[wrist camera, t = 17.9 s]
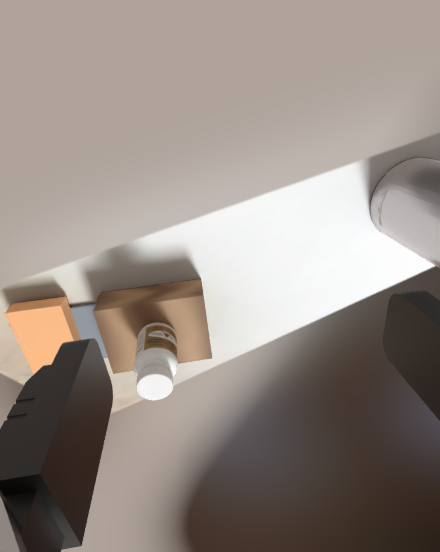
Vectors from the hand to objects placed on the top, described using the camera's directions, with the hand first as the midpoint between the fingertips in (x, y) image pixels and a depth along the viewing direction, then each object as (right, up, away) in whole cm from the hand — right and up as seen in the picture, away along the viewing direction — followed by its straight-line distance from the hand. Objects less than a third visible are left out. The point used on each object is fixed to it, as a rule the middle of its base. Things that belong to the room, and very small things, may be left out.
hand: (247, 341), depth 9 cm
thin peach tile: (-21, -6, +29) cm, 36 cm away
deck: (-9, -3, +32) cm, 34 cm away
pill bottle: (-8, -5, +29) cm, 31 cm away
